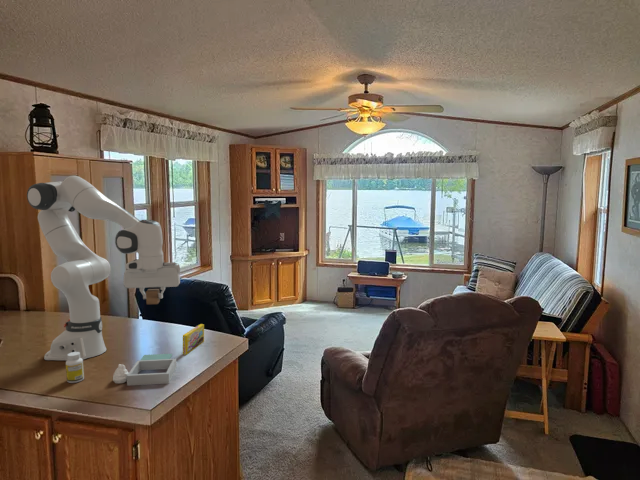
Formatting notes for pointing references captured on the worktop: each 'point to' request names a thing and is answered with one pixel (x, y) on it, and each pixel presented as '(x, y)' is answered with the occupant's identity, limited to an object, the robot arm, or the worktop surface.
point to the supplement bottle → (74, 367)
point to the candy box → (193, 339)
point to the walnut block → (152, 296)
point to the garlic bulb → (120, 374)
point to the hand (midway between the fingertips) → (153, 298)
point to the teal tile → (156, 357)
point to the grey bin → (151, 378)
